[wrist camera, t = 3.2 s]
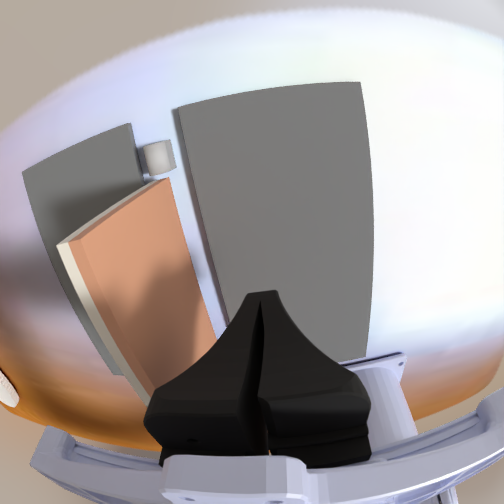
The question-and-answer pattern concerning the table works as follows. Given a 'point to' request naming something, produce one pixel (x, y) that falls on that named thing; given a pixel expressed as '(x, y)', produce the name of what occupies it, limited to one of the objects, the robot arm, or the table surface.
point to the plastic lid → (7, 392)
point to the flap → (141, 287)
